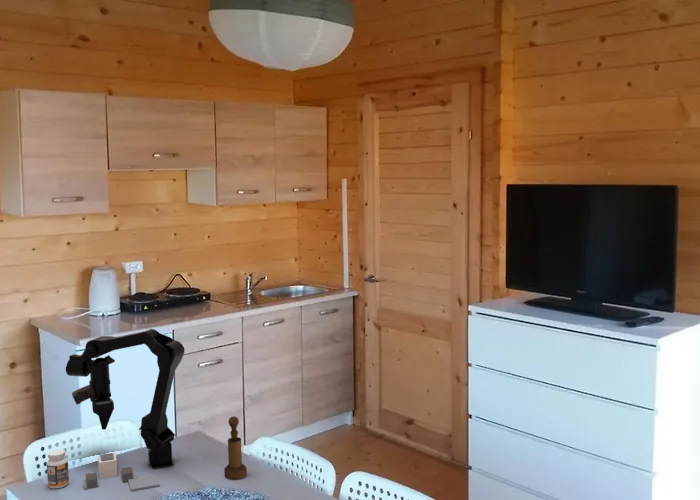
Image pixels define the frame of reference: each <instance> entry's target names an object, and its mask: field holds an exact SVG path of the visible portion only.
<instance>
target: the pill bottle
mask: <svg viewBox="0 0 700 500" xmlns="http://www.w3.org/2000/svg"><path fill="white" fill-rule="evenodd" d="M47 458H48V460H47V462H46V473H47V474H46V476H47V486H48V488H51V489H61V488H64V487H66V486H67V485H68V484H69V482H70V480H69V479H70V478H69V475H70V474H69V461H68V458H67V457H66V450H65V449H55V450H51V451H49V452H48V453H47Z"/></svg>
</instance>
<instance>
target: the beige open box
mask: <svg viewBox="0 0 700 500" xmlns="http://www.w3.org/2000/svg"><path fill="white" fill-rule="evenodd" d="M97 465H98V474H99V475H98V477H99V479H106V478H112V477H117V476H118V463H117V456H116V453H114V452H110V453H103V454H100V455H97Z"/></svg>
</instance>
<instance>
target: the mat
mask: <svg viewBox="0 0 700 500" xmlns="http://www.w3.org/2000/svg"><path fill="white" fill-rule="evenodd" d="M128 486H129V489H130V492H136V491H142V490H148V489H152V488H153V489H154V488H157V487H160V481H159V479H158V477H157V474H156V473H155V474H150V475H143V476H138V477H137V476H136V479H129V480H128Z"/></svg>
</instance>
